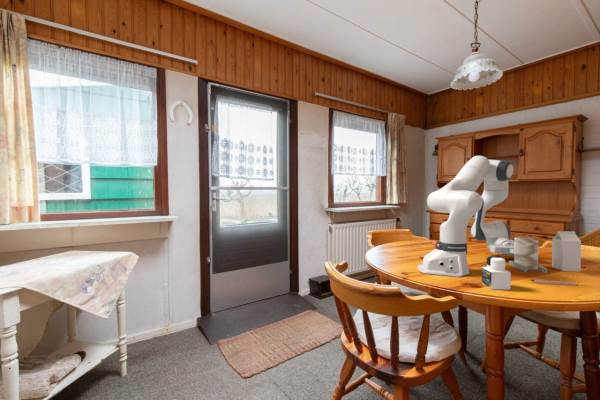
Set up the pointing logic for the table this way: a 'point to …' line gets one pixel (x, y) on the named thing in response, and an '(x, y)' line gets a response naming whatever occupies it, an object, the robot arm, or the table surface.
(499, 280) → the medicine bottle
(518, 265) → the chute
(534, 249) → the block
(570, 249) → the milk carton
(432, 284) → the table surface
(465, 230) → the robot arm
